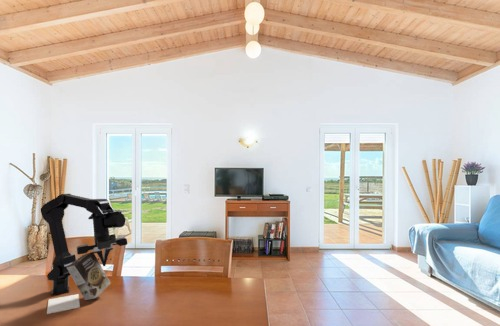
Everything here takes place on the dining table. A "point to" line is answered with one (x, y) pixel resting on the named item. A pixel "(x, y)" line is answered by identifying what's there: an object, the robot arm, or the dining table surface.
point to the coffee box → (88, 276)
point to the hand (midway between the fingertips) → (104, 265)
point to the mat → (63, 303)
